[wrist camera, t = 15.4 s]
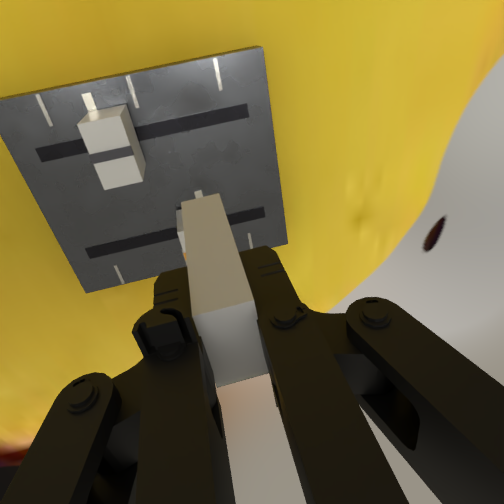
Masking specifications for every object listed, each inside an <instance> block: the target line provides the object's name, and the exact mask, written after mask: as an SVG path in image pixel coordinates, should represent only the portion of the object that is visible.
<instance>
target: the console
mask: <svg viewBox="0 0 504 504" xmlns="http://www.w3.org/2000/svg"><path fill="white" fill-rule="evenodd" d="M125 104H126V105H127V108H128V111H129V114H130V117H131V120H132V123H133V126H134V129H135V132H136V135H137V138H138V141H139V144H140V147H141V150H142V153H143V156H144V159H145V162H146V167H145V172H144V178H143V182H138V183H134V184H130V185H125V186H121V187H116V188H112V189H107V190H104V188H103V186H102V183H101V181H100V178H99V176H98V174H97V171H96V169H95V166H94V164H92V163H91V160H90V158H89V152H88V150H87V147H86V145H85V143H84V140H83V138H82V135H81V133H80V131H79V128H78V126H77V124H78V123H79V122H80V121H81V120H82V119H83V118H84V116H85V115H86V114H87V113H88V112H91V111H96V110H101V109H105V108H110V107H115V106H120V105H125ZM0 135H1V137H2V139H3V141H4V142H5V144H6V146H7V148H8V150H9V152H10V154H11V155H12V157H13V159H14V161H15V163H16V165H17V166H18V168H19V170H20V172H21V174H22V176H23V178H24V179H25V181H26V183H27V185H28V187H29V189H30V191H31V192H32V194H33V196H34V198H35V200H36V202H37V204H38V205H39V207H40V209H41V211H42V213H43V215H44V216H45V218H46V220H47V222H48V224H49V226H50V228H51V229H52V231H53V233H54V235H55V237H56V239H57V241H58V242H59V244H60V246H61V248H62V250H63V252H64V254H65V255H66V257H67V259H68V261H69V263H70V265H71V266H72V268H73V270H74V272H75V274H76V276H77V278H78V279H79V281H80V283H81V285H82V287H83V289H84V291H85V292H86V293H89V292H94V291H98V290H102V289H106V288H110V287H114V286H118V285H122V284H126V283H130V282H134V281H138V280H143V279H147V278H151V277H155V276H159V275H160V273H162V272H166V271H170V270H174V269H178V268H182V267H186V266H187V261H186V260H185V258H184V255H183V253H184V252H183V249H182V246H181V243H180V240H179V237H178V233H177V215H176V211H177V210H181V209H182V208H181V202H184V201H188V200H192V199H196V198H201V197H205V196H209V195H213V194H217V193H219V195H220V198H221V201H222V204H223V207H224V210H225V213H226V216H227V219H228V222H229V225H230V228H231V231H232V234H233V237H234V241H235V244H236V247H237V250H238V252H241V251H245V250H249V249H253V248H257V247H261V246H265V245H266V246H268V247H269V248H273V247H277V246H281V245H285V244H288V239H287V232H286V224H285V216H284V208H283V200H282V193H281V185H280V177H279V169H278V161H277V154H276V146H275V138H274V130H273V122H272V115H271V107H270V99H269V91H268V83H267V76H266V68H265V60H264V52H263V47H261V46H253V47H248V48H243V49H238V50H233V51H228V52H223V53H218V54H213V55H208V56H203V57H199V58H194V59H189V60H184V61H179V62H174V63H169V64H164V65H159V66H154V67H149V68H144V69H140V70H135V71H130V72H125V73H120V74H115V75H110V76H105V77H100V78H95V79H90V80H85V81H80V82H76V83H71V84H66V85H61V86H56V87H51V88H46V89H41V90H36V91H31V92H26V93H21V94H17V95H12V96H7V97H2V98H0Z"/></svg>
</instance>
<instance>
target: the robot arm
mask: <svg viewBox="0 0 504 504" xmlns="http://www.w3.org/2000/svg"><path fill="white" fill-rule="evenodd" d="M181 208H182V218H183V228H184V238H185V248H186V258H187V266H186V267H182V268H178V269H174V270H170V271H166V272H162V273H160V275H159V277H158V278H157V280H156V282H155V283H154V302H153V304H154V306H153V309H151V310H149V311H148V312H146V313H145V314H144V315H142V316H141V317H140V318H139V319H138V320H137V322H136V323H135V324H134V327H133V330H132V334H133V336H134V338H135V340H136V342H137V344H138V346H139V348H140V350H141V352H142V354H143V356H144V358H143V359H142V360H141V361H140V362H139V363H138V364H136V365H135V366H133V367H132V368H130V369H129V370H127V371H125V372H123V373H122V374H120V375H118V376H116V377H114V378H112V379H111V378H110V377H109V376H107V375H106V374H104V373H96V372H94V373H90V374H86V375H83V376H81V377H79V378H77V379H75V380H73V381H72V382H71V383H70V384H68V385H67V386H66V387H65V388H64V389H62V391H61V392H60V394H59V395H58V396H57V398H56V399H55V401H54V403H53V405H52V406H51V408H50V410H49V412H48V414H47V416H46V418H45V420H44V422H43V423H42V425H41V427H40V429H39V431H38V433H37V435H36V437H35V438H34V440H33V442H32V444H31V446H30V448H29V450H28V452H27V454H26V455H25V457H24V459H23V461H22V463H21V465H20V467H19V469H18V471H17V472H16V474H15V476H14V478H13V480H12V482H11V484H10V486H9V487H8V489H7V491H6V493H5V495H4V497H3V499H2V501H1V503H0V504H236V503H235V496H234V490H233V483H232V477H231V470H230V464H229V457H228V450H227V444H226V438H225V431H224V424H223V418H222V412H221V405H220V403H219V400H218V397H217V394H216V387H215V383H216V386H217V388H218V387H221V386H225V385H228V384H232V383H236V382H239V381H242V380H246V379H250V378H253V377H257V376H260V375H264V374H268V373H269V374H270V378H271V382H272V387H273V392H274V397H275V401H276V406H277V407H278V408H279V411H280V415H281V418H282V422H283V425H284V428H285V432H286V435H287V439H288V442H289V445H290V449H291V452H292V456H293V459H294V462H295V466H296V469H297V473H298V476H299V479H300V483H301V486H302V489H303V493H304V496H305V500H306V503H307V504H409V502H408V500H407V498H406V497H405V495H404V493H403V490H402V489H401V487H400V485H399V483H398V481H397V479H396V477H395V475H394V473H393V471H392V469H391V467H390V465H389V463H388V461H387V459H386V457H385V455H384V453H383V451H382V449H381V448H380V445H379V443H378V441H377V440H376V438H375V436H374V434H373V432H372V430H371V428H370V426H369V424H368V422H367V420H366V418H365V416H364V414H363V412H362V410H361V408H362V409H363V410H364V411H365V412H366V413H367V415H368V416H369V417H370V418H371V419H372V421H373V422H374V423H375V424H376V425H377V427H378V428H379V429H380V430H381V431H382V433H384V435H385V436H386V437H387V439H388V440H389V441H390V442H391V443H392V444H393V446H394V447H395V448H396V449H397V450H398V452H399V453H400V454H401V455H402V456H403V458H404V459H405V460H406V461H407V462H408V463H409V465H410V466H411V467H412V468H413V469H414V471H415V472H416V473H417V474H418V475H419V476H420V478H421V479H422V480H423V481H424V482H425V484H426V485H427V486H428V487H429V488H430V490H431V491H432V492H433V493H434V494H435V495H436V497H437V498H438V499H439V500H440V502H441V503H442V504H504V386H503V385H501V384H500V383H499V382H497V381H496V380H495V379H494V378H492V377H491V376H489V375H488V374H487V373H486V372H484V371H483V370H482V369H480V368H479V367H478V366H477V365H475V364H474V363H473V362H471V361H470V360H469V359H467V358H466V357H465V356H464V355H462V354H461V353H459V352H458V351H457V350H456V349H454V348H453V347H452V346H450V345H449V344H448V343H447V342H445V341H444V340H442V339H441V338H440V337H438V336H437V335H436V334H435V333H433V332H432V331H431V330H429V329H428V328H427V327H426V326H424V325H423V324H422V323H420V322H419V321H418V320H416V319H415V318H414V317H412V316H411V315H410V314H409V313H407V312H406V311H405V310H403V309H402V308H400V307H399V306H398V305H397V304H395V303H393V302H391V301H389V300H387V299H383V298H379V297H365V298H362V299H359V300H356V301H355V302H353V303H352V304H351V305H349V307H348V310H347V311H346V313H339V314H329V313H320V312H316V311H313V310H311V309H309V308H308V307H307V306H306V305H305V304H303V303H302V302H301V301H300V300H299V298H298V296H297V294H296V292H295V289H294V287H293V285H292V283H291V281H290V279H289V277H288V275H287V273H286V271H285V270H284V267H283V265H282V263H281V261H280V259H279V257H278V255H277V253H276V252H275V251H274V250H272V249H271V248H269V247H268V246H266V245H265V246H261V247H257V248H253V249H249V250H245V251H241V252H238V250H237V247H236V244H235V241H234V237H233V234H232V231H231V228H230V225H229V222H228V219H227V216H226V213H225V210H224V207H223V204H222V201H221V198H220V195H219V193H217V194H213V195H209V196H205V197H201V198H196V199H192V200H188V201H184V202H181ZM359 405H360V406H361V408H360V406H359Z"/></svg>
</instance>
